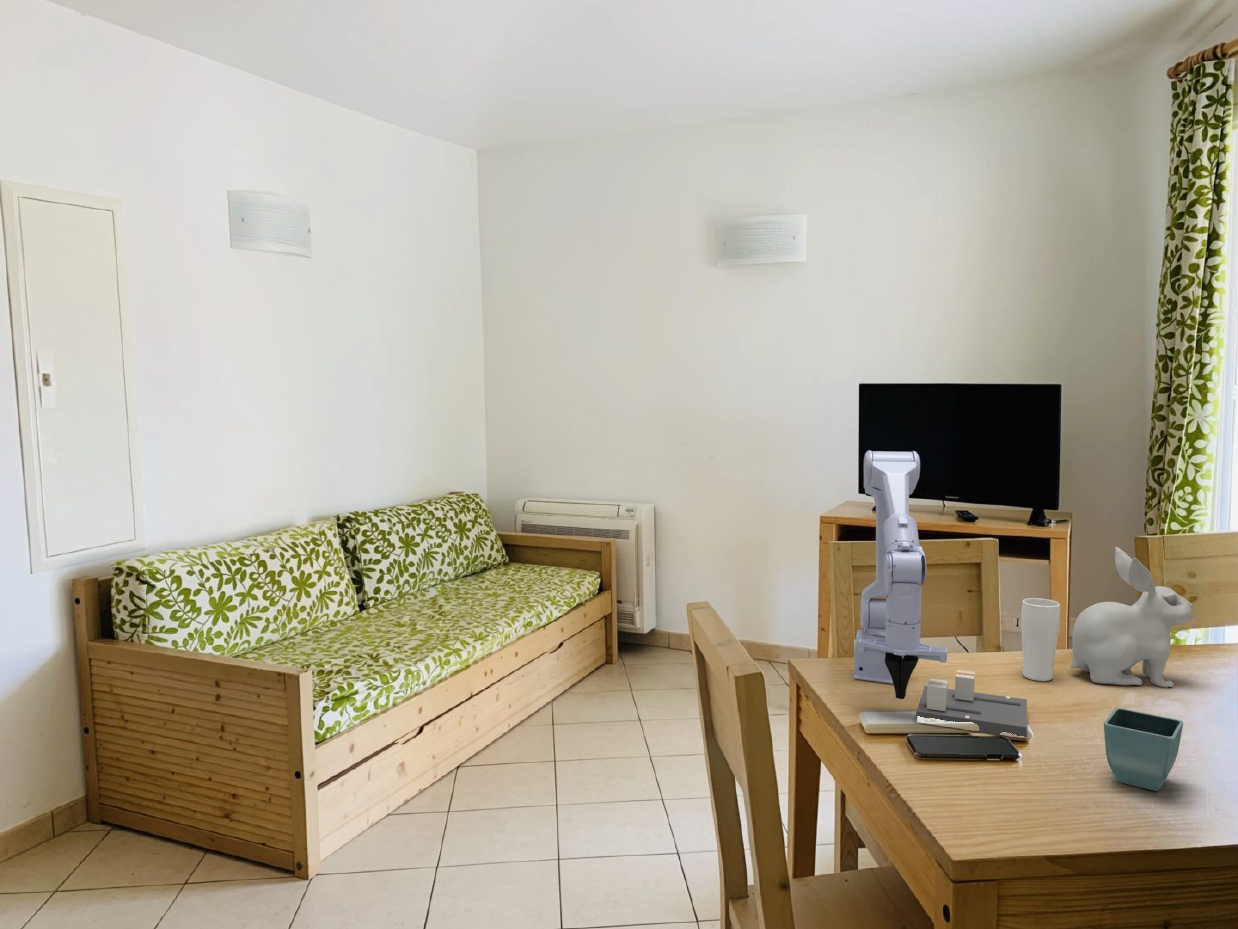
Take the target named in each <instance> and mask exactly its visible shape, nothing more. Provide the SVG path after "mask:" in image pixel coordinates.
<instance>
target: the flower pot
mask: <svg viewBox="0 0 1238 929" xmlns="http://www.w3.org/2000/svg"><path fill="white" fill-rule="evenodd" d="M1183 726H1184V721H1183V720H1181V719H1176V718H1171V717H1166V716H1163V715H1161V716H1160V715H1155V714H1151V713H1146V712H1141V711H1138V710H1137V711H1136V710H1132V709H1127V708H1122V707H1115V708H1114V709H1113V710H1112V711H1111V713H1110V714H1109V716H1108V717H1107V718H1106V719H1105V720H1104V722H1103V732H1104V735H1103V736H1104V744H1105V745H1104V746H1105V755H1106V760H1107V763H1108V766H1109V767H1110V768H1109V769H1110V771H1111V772H1112V774H1113V776H1114V777H1115V779H1116V781H1117V782H1118V783H1122V784H1127V785H1129V786H1134V787H1139V788H1141V789H1146V790H1150V791H1154V792H1158V791H1160V789H1161V788H1162V787H1163V785H1164V784H1165V781H1166V780H1167V778H1168V776H1169V774H1170V772H1171V770H1172V768H1173V767H1174V765H1175V762H1176V760H1177V757H1178V753H1179V750H1180V748H1179V747H1180V743H1181V739H1182V733H1183Z"/></svg>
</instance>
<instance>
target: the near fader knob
mask: <svg viewBox="0 0 1238 929" xmlns="http://www.w3.org/2000/svg"><path fill="white" fill-rule="evenodd" d="M926 686H927V709H933V710H940V711H946V707H947V698H948V689H949V680H945V679H937V678H929V680H928V683H927V685H926Z"/></svg>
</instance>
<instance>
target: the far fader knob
mask: <svg viewBox="0 0 1238 929" xmlns="http://www.w3.org/2000/svg"><path fill="white" fill-rule="evenodd" d="M954 680H955V683H954V690H955V699H960V700H967V701H973V699H974V692H975V684H976V671H969V670H963V669H956V674H955V679H954Z"/></svg>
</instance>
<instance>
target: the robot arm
mask: <svg viewBox="0 0 1238 929" xmlns="http://www.w3.org/2000/svg"><path fill="white" fill-rule="evenodd" d="M920 473H921V459H920V455H919V454H918V453H917V451H915V450H912V451H879V450H877V451H874V450H873V451H872V450H867V451H866V452H865V454H864V457H863V488H864V492H865V493H866V494H867V495H870V496H871V497H872V498H873V499H874V504H875V580H874V581H873V582H871V583H870V584H869V585H867V586H866V587H865V588H863V590H862V592H861V593H860V594H861V600H860V607H859V618H860V620H859V621H860V627H861V628H862V629H858V630H857V632H856V635H855V642H854V663H853V664H854V668H853V672H854V675H853V679H855V680H861V681H868V682H869V681H870V682H876V683H884V684H889V685H890V684H891V685H893V688H894V693H895V694H894V695H895V699H900V700H905V698H906V695H907V694H906V693H907V687H908V684H909V681H910V678H911V676H912V674H913V673H914V670H915V669H916V666H917V665H918V662H919V659H922V660H928V661H929V660H931V661H937V662H939V663H944V664H946V663H947V661H948V648H943V647H937V646H934V645H933V646H932V645H927V644H923V643H921V624H922V623H921V620H922V619H921V618H922V617H921V616H922V613H921V612H922V595H923V594H922V588H923V586H925V582H926V579H927V567H928V566H927V559H926V554H925V552H924V550H923V546H920V545H921V544H920V539H919V532H918V524H917V521H916V520H915V519H914V518H913V517H912V516H910V497H909V496H910V495H912V494H913V492H914V490H915V489H916V486H917V484H918V481H919V479H920ZM875 597H876V598H875ZM878 597H880V598H878ZM881 597H886V598H881Z"/></svg>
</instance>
